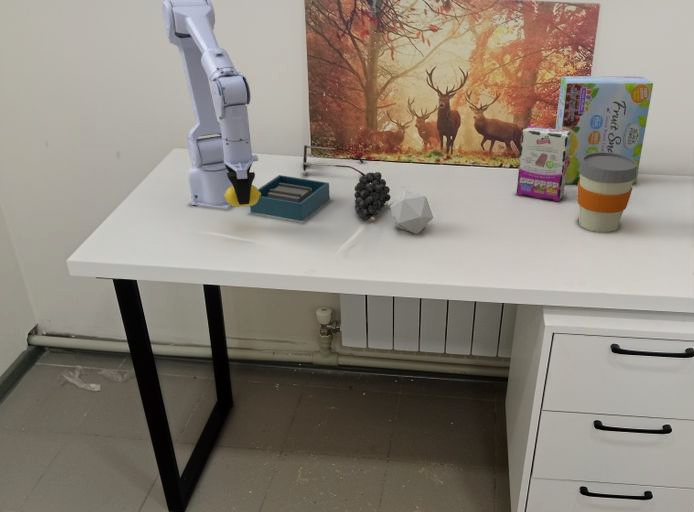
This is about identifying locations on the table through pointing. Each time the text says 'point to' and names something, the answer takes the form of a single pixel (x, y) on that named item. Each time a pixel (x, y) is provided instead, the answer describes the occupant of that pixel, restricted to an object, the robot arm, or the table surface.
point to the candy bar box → (543, 162)
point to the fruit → (370, 195)
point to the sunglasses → (324, 164)
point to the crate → (289, 207)
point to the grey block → (290, 192)
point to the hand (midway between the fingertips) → (243, 199)
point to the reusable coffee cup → (604, 189)
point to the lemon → (232, 197)
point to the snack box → (603, 117)
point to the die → (411, 212)
